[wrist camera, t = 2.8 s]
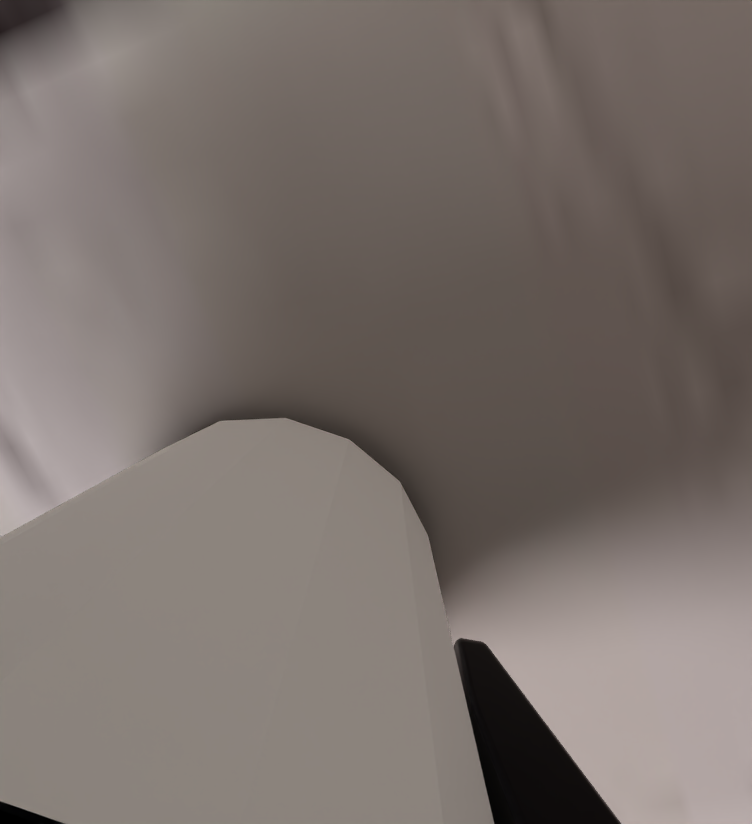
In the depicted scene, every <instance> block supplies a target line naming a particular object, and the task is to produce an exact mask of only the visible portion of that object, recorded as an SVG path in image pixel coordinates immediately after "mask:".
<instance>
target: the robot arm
mask: <svg viewBox="0 0 752 824" xmlns="http://www.w3.org/2000/svg"><path fill="white" fill-rule="evenodd" d="M454 651H455V655H456V660H457V664H458V668H459V673H460V677H461V681H462V686H463V690H464V694H465V699H466V703H467V707H468V712H469V716H470V721H471V725H472V729H473V734H474V738H475V742H476V747H477V751H478V755H479V760H480V764H481V768H482V773H483V777H484V781H485V786H486V790H487V795H488V799H489V803H490V808H491V812H492V816H493V821H494V824H621V823H620V822H619V820H618V819H617V818H616V816H615V815H614V814H613V812H612V811H611V810H610V808H609V807H608V806H607V804H606V803H605V802H604V800H603V799H602V798H601V796H600V795H599V794H598V792H597V791H596V790H595V788H594V787H593V786H592V784H591V783H590V782H589V780H588V779H587V778H586V776H585V775H584V774H583V772H582V771H581V770H580V768H579V767H578V766H577V764H576V763H575V762H574V760H573V759H572V758H571V756H570V755H569V754H568V752H567V751H566V750H565V748H564V747H563V746H562V744H561V743H560V742H559V740H558V739H557V738H556V736H555V735H554V734H553V732H552V731H551V730H550V728H549V727H548V726H547V725H546V723H545V722H544V721H543V719H542V718H541V717H540V715H539V714H538V713H537V711H536V710H535V709H534V707H533V706H532V705H531V703H530V702H529V701H528V699H527V698H526V697H525V695H524V694H523V693H522V691H521V690H520V689H519V687H518V686H517V685H516V683H515V682H514V681H513V679H512V678H511V677H510V675H509V674H508V673H507V671H506V670H505V669H504V667H503V666H502V665H501V663H500V662H499V661H498V659H497V658H496V657H495V655H494V654H493V653H492V651H491V650H490V649H489V647H488V646H487V645H486V644H485V643H483V642H481V641H475V640H469V639H463V638H460V639H458V640H457V641H456V642H455V645H454Z"/></svg>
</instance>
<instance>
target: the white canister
mask: <svg viewBox="0 0 752 824" xmlns="http://www.w3.org/2000/svg"><path fill="white" fill-rule="evenodd" d="M0 824H494V821H493V816H492V812H491V808H490V803H489V799H488V795H487V790H486V786H485V781H484V777H483V773H482V768H481V764H480V760H479V755H478V751H477V747H476V742H475V738H474V734H473V729H472V725H471V721H470V716H469V712H468V707H467V703H466V699H465V694H464V690H463V686H462V681H461V677H460V673H459V668H458V664H457V660H456V655H455V651H454V647H453V642H452V638H451V633H450V629H449V625H448V620H447V616H446V612H445V607H444V603H443V599H442V594H441V590H440V586H439V581H438V577H437V573H436V568H435V564H434V559H433V555H432V551H431V546H430V542H429V538H428V534H427V533H426V531H425V529H424V527H423V525H422V523H421V521H420V519H419V517H418V515H417V513H416V511H415V509H414V508H413V506H412V504H411V502H410V500H409V498H408V496H407V494H406V492H405V490H404V488H403V486H402V484H401V483H400V481H399V480H397V479H396V478H395V477H394V476H393V475H391V474H390V473H389V472H388V471H387V470H385V469H384V468H383V467H382V466H381V465H380V464H378V463H377V462H376V461H375V460H374V459H372V458H371V457H370V456H369V455H368V454H366V453H365V452H364V451H363V450H362V449H360V448H359V447H358V446H357V445H356V444H354V443H353V442H352V441H351V440H349V439H347V438H344V437H341V436H338V435H335V434H332V433H329V432H326V431H323V430H320V429H317V428H314V427H311V426H308V425H305V424H302V423H299V422H296V421H293V420H290V419H288V418H271V419H250V420H228V421H219V422H217V423H215V424H213V425H211V426H209V427H206V428H204V429H202V430H200V431H198V432H196V433H194V434H192V435H190V436H188V437H186V438H184V439H182V440H180V441H178V442H176V443H174V444H171V445H169V446H167V447H165V448H164V449H162V450H160V451H158V452H156V453H154V454H153V455H151V456H149V457H147V458H145V459H143V460H142V461H140V462H138V463H136V464H134V465H132V466H131V467H129V468H127V469H125V470H123V471H121V472H120V473H118V474H116V475H114V476H112V477H110V478H109V479H107V480H105V481H103V482H101V483H99V484H98V485H96V486H94V487H92V488H90V489H88V490H87V491H85V492H83V493H81V494H79V495H77V496H76V497H74V498H72V499H70V500H68V501H66V502H65V503H63V504H61V505H59V506H57V507H55V508H54V509H52V510H50V511H48V512H46V513H44V514H43V515H41V516H39V517H37V518H35V519H33V520H32V521H30V522H28V523H26V524H24V525H22V526H21V527H19V528H17V529H15V530H13V531H11V532H10V533H8V534H6V535H4V536H2V537H0Z"/></svg>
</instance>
